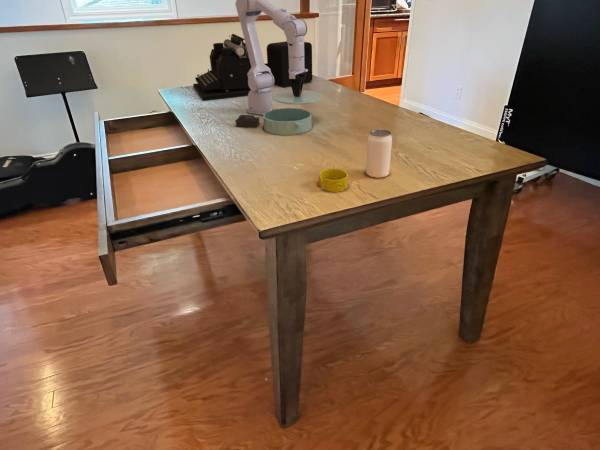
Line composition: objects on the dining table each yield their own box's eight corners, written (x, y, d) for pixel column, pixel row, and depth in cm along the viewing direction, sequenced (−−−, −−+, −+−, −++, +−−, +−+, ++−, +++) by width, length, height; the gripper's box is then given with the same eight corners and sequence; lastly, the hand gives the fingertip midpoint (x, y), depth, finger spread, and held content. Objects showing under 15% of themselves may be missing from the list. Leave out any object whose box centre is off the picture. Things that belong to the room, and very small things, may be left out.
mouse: (236, 126, 158) (235, 115, 156) (240, 123, 162) (239, 112, 160) (255, 127, 157) (254, 116, 154) (259, 124, 161) (258, 113, 158)
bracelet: (335, 177, 116) (335, 166, 114) (353, 187, 110) (354, 175, 108) (314, 183, 112) (313, 172, 111) (331, 194, 107) (331, 182, 105)
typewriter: (193, 87, 219) (185, 36, 206) (243, 82, 227) (238, 32, 214) (203, 100, 194) (194, 43, 181) (258, 94, 202) (254, 39, 189)
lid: (285, 108, 146) (284, 94, 144) (265, 97, 161) (264, 84, 159) (331, 101, 153) (331, 88, 151) (308, 91, 168) (308, 79, 166)
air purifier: (296, 78, 234) (295, 39, 223) (312, 81, 224) (312, 41, 214) (266, 83, 223) (264, 43, 213) (282, 87, 213) (280, 46, 203)
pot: (278, 140, 144) (278, 126, 141) (254, 123, 162) (253, 110, 159) (323, 131, 150) (323, 118, 148) (295, 116, 168) (295, 104, 166)
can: (386, 168, 120) (389, 128, 114) (391, 178, 114) (395, 136, 108) (364, 169, 120) (366, 129, 113) (368, 178, 114) (370, 137, 108)
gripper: (302, 60, 142) (303, 100, 149) (311, 53, 155) (311, 90, 161) (282, 59, 144) (284, 99, 151) (293, 53, 156) (294, 90, 163)
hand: (297, 94), depth 156 cm, fingers closed on lid, 2 cm apart
